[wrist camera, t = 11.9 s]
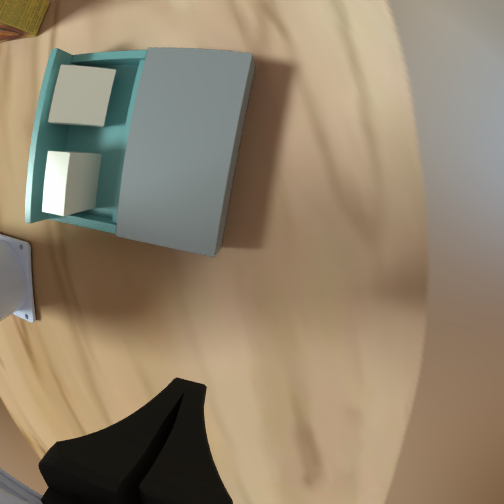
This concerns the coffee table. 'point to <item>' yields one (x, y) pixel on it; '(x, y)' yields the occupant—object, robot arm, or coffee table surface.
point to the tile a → (70, 182)
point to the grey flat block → (184, 147)
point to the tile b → (81, 96)
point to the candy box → (21, 18)
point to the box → (86, 137)
